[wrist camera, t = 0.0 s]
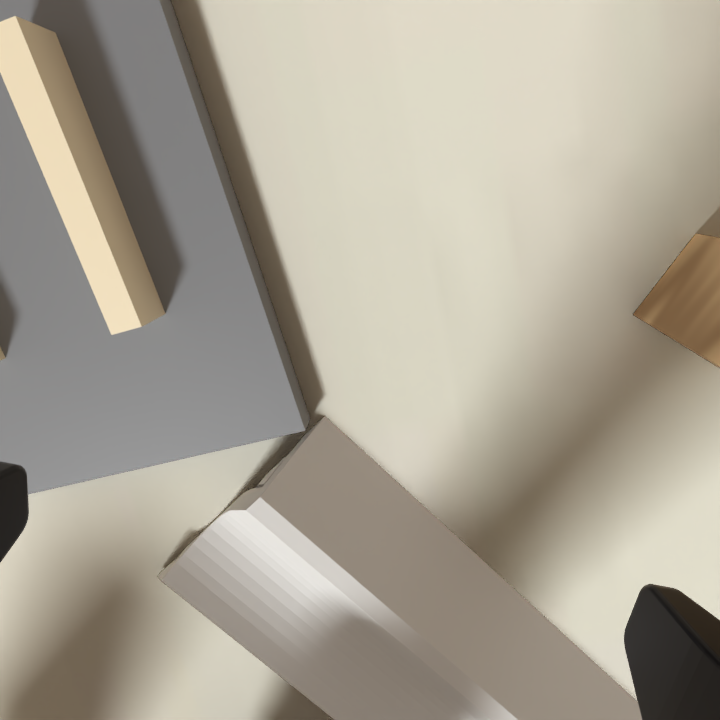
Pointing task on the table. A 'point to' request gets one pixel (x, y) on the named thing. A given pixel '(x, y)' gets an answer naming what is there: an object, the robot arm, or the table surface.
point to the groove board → (123, 255)
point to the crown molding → (380, 601)
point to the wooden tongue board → (689, 299)
